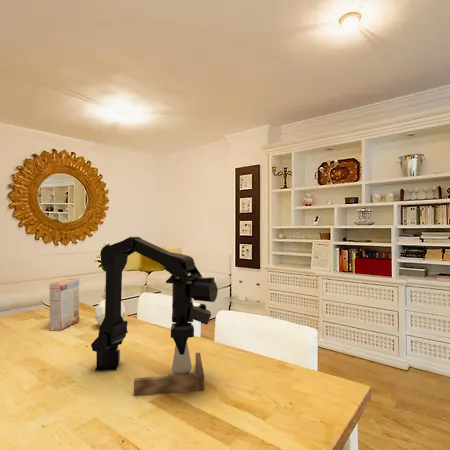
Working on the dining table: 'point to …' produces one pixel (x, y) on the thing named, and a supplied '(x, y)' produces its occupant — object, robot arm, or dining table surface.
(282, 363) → the dining table surface
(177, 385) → the corner walls
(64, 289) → the cracker box
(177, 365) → the salt shaker
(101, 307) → the geodesic sphere
